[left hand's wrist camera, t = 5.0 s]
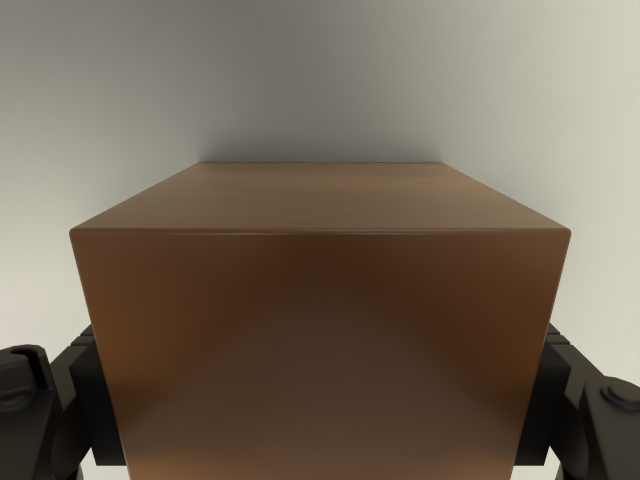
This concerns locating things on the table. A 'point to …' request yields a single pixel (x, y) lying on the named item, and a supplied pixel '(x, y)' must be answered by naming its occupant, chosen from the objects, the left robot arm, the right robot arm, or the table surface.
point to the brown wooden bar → (320, 321)
